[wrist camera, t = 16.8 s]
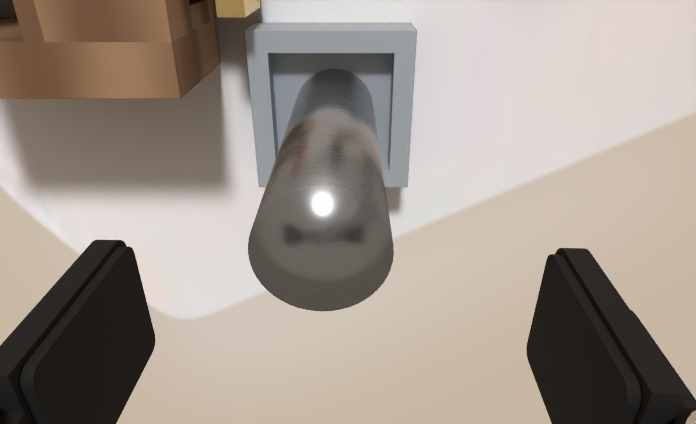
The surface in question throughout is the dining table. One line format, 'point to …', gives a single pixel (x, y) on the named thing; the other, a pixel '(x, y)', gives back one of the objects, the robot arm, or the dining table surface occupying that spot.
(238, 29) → the dining table surface
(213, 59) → the socket block
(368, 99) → the grey cylinder
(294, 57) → the grey square tray
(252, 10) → the tan wooden t-shaped piece
